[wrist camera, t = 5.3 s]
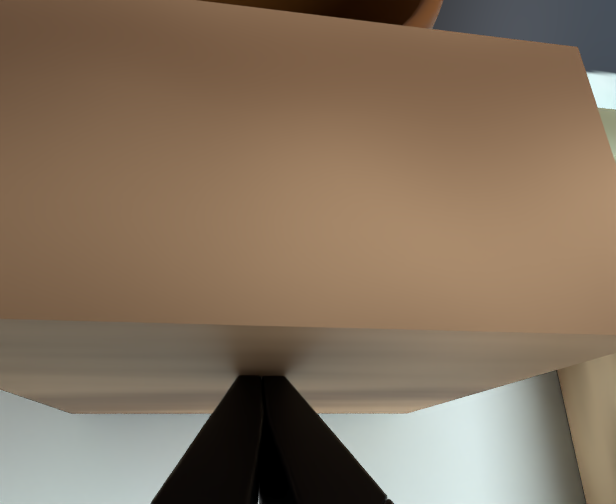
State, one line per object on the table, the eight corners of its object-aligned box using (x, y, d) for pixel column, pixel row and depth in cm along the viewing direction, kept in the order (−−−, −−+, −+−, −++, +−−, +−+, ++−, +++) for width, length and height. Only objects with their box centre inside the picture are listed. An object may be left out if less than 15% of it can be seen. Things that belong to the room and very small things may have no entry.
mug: (192, 10, 22) (170, -288, 13) (357, 39, 22) (438, -222, 14) (135, 253, 17) (39, 28, 8) (350, 279, 17) (469, 100, 9)
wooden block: (406, 413, 15) (672, 336, 6) (71, 413, 14) (-226, 313, 5) (393, 266, 17) (577, 47, 8) (99, 253, 16) (-71, -33, 7)
